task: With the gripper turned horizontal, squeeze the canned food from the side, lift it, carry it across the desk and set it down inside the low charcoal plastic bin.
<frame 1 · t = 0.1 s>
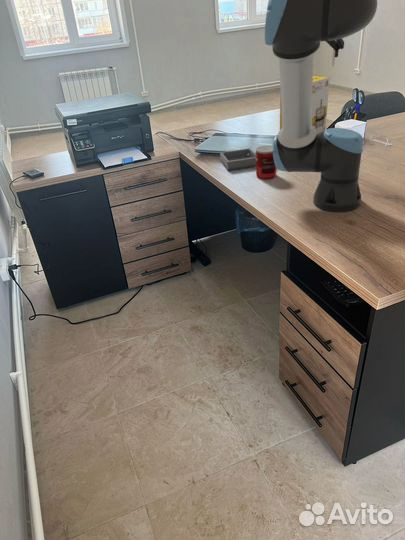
hand: (315, 64, 155), 36 cm above the table, tool tilted 35°, fingers open, 13 cm apart
canned food: (266, 176, 159), on the table
charcoal bin: (239, 163, 173), on the table
packaging box: (302, 132, 204), on the table
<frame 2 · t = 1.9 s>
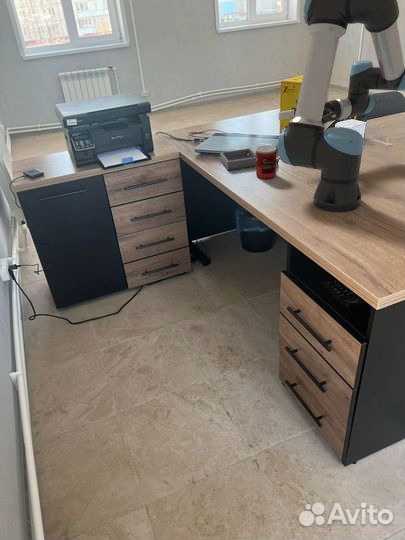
hand: (288, 119, 150), 20 cm above the table, tool horizontal, fingers open, 13 cm apart
nothing on the table moved.
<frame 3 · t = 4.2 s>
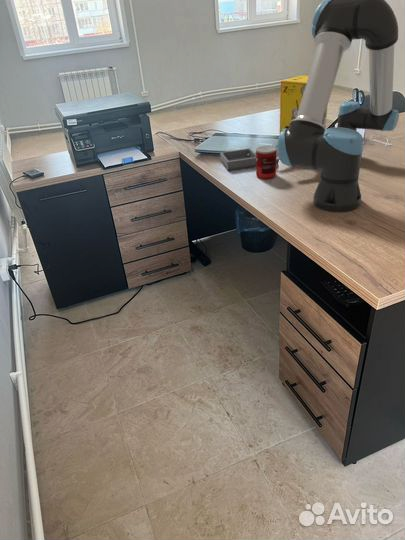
hand: (278, 157, 157), 6 cm above the table, tool horizontal, fingers open, 13 cm apart
nothing on the table moved.
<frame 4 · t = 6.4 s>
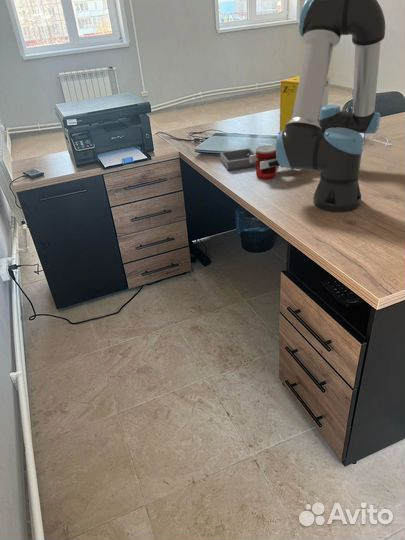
hand: (255, 162, 154), 7 cm above the table, tool horizontal, fingers closed on canned food, 8 cm apart
canned food: (266, 176, 159), on the table, touching gripper
everything else where it was.
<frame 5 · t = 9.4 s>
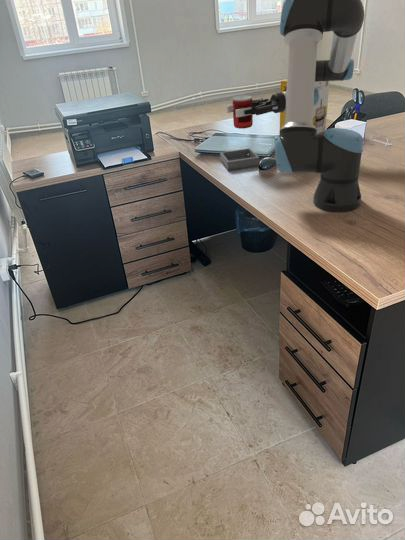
hand: (231, 111, 158), 23 cm above the table, tool horizontal, fingers closed on canned food, 8 cm apart
canned food: (243, 126, 163), point 16 cm above the table, touching gripper
everything else where it was.
when the fingers open (9 cm above the table, at t = 12.5 s): canned food drops 2 cm, resting on charcoal bin.
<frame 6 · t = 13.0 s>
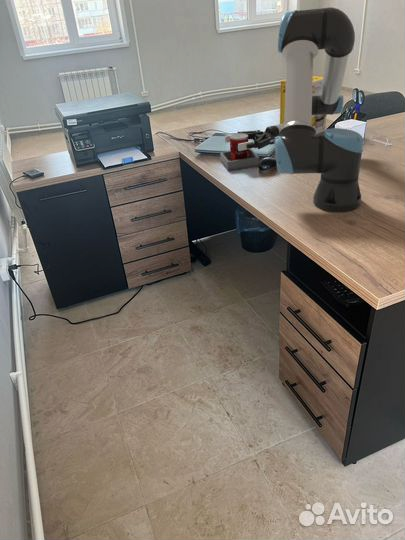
hand: (231, 143, 167), 9 cm above the table, tool horizontal, fingers open, 13 cm apart
canned food: (239, 162, 172), point 1 cm above the table, touching charcoal bin
everything else where it was.
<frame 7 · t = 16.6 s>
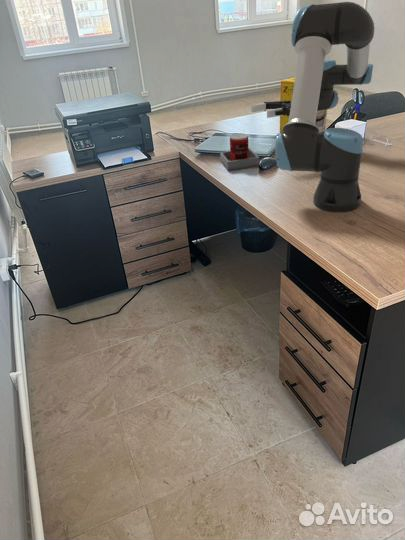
hand: (259, 111, 165), 20 cm above the table, tool horizontal, fingers open, 13 cm apart
nothing on the table moved.
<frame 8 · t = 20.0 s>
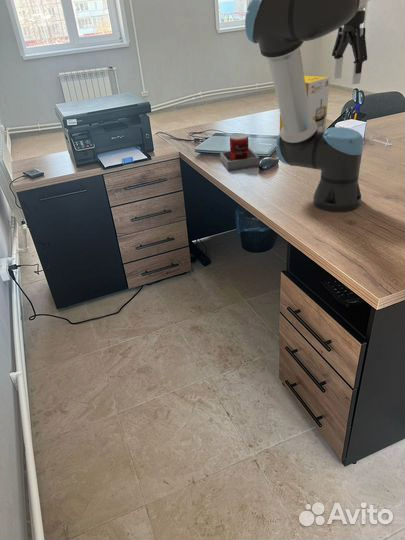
hand: (345, 81, 143), 32 cm above the table, tool pointing down, fingers open, 13 cm apart
nothing on the table moved.
at the end: canned food inside the target area on the charcoal bin (0.1 cm from its centre), point 0.8 cm above the charcoal bin's base; canned food tilted 0°; the gripper is holding nothing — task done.
